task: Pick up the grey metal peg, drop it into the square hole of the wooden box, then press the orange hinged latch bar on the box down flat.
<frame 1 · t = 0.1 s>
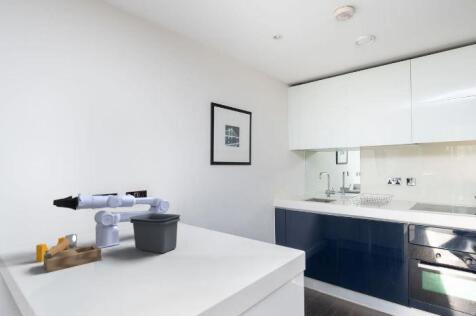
hand: (54, 203, 110), 22 cm above the countertop, tool horizontal, fingers open, 7 cm apart
peg: (71, 254, 109), on the countertop
storage bin: (157, 248, 115), on the countertop
wooden box: (73, 262, 100), on the countertop
latch: (58, 248, 97), point 6 cm above the countertop, hinge at 30.0°
pipe clamp: (50, 257, 108), on the countertop
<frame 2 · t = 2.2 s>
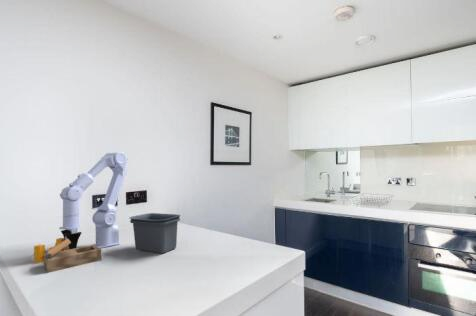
hand: (70, 248, 109), 3 cm above the countertop, tool pointing down, fingers open, 7 cm apart
pipe clamp: (48, 258, 107), on the countertop, touching gripper
everything else where it was.
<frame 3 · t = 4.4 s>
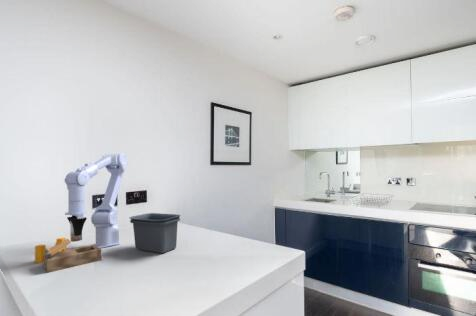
hand: (76, 234, 106), 9 cm above the countertop, tool pointing down, fingers closed on peg, 4 cm apart
peg: (76, 240, 106), point 7 cm above the countertop, touching gripper
pipe clamp: (49, 258, 107), on the countertop
everything else where it was.
when the fingers open (5 cm above the countertop, at t = 6.0 s): peg drops 3 cm, resting in wooden box.
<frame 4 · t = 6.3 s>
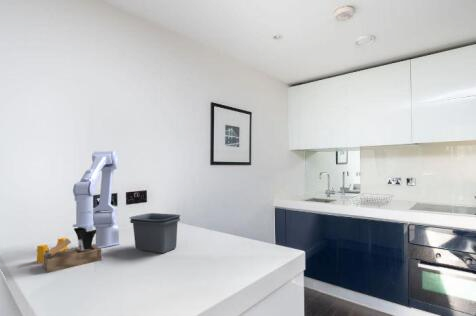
hand: (84, 247, 102), 5 cm above the countertop, tool pointing down, fingers open, 7 cm apart
peg: (84, 260, 102), resting in wooden box
everything else where it was.
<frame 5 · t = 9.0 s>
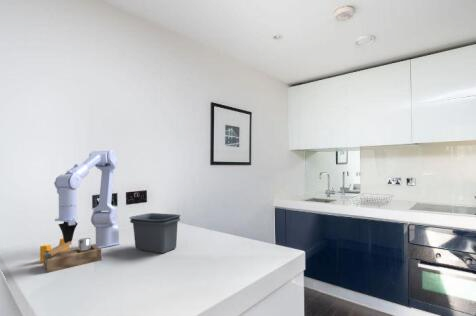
hand: (68, 242, 99), 8 cm above the countertop, tool pointing down, fingers closed, pressing on latch
latch: (58, 248, 97), point 6 cm above the countertop, hinge at 25.6°, touching gripper
pipe clamp: (53, 258, 106), on the countertop
everything else where it was.
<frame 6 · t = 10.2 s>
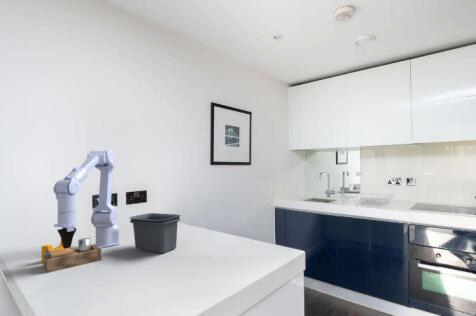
hand: (66, 247, 98), 6 cm above the countertop, tool pointing down, fingers closed
latch: (59, 252, 97), point 5 cm above the countertop, hinge at -1.2°
everything else where it was.
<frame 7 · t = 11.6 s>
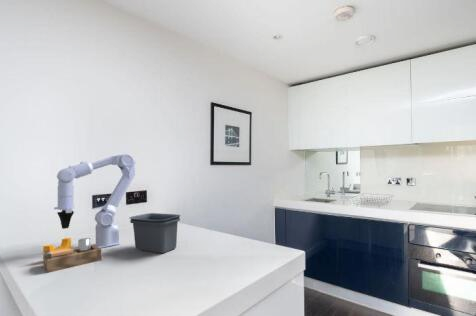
hand: (65, 228, 113), 10 cm above the countertop, tool pointing down, fingers closed
latch: (59, 252, 97), point 5 cm above the countertop, hinge at -0.7°
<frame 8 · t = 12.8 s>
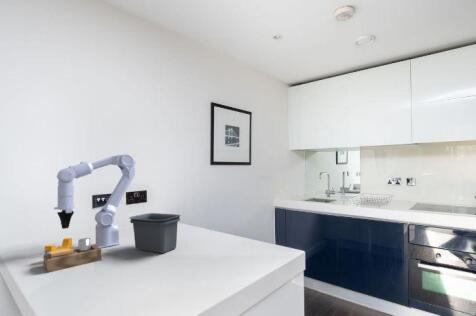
hand: (65, 228, 113), 10 cm above the countertop, tool pointing down, fingers closed
at the end: peg 0.2 cm from the target spot on the wooden box, point 0.0 cm above the wooden box's base; peg tilted 0°; latch at -1° (first picture: +30°) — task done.
